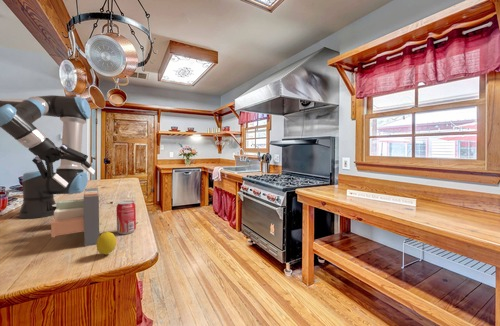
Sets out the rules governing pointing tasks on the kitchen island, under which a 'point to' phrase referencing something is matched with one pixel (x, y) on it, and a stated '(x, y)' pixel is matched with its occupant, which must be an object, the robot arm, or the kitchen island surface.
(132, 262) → the kitchen island surface
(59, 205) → the sage key
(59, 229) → the terracotta key
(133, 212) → the soda can
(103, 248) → the lemon
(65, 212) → the ivory key
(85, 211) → the key panel
